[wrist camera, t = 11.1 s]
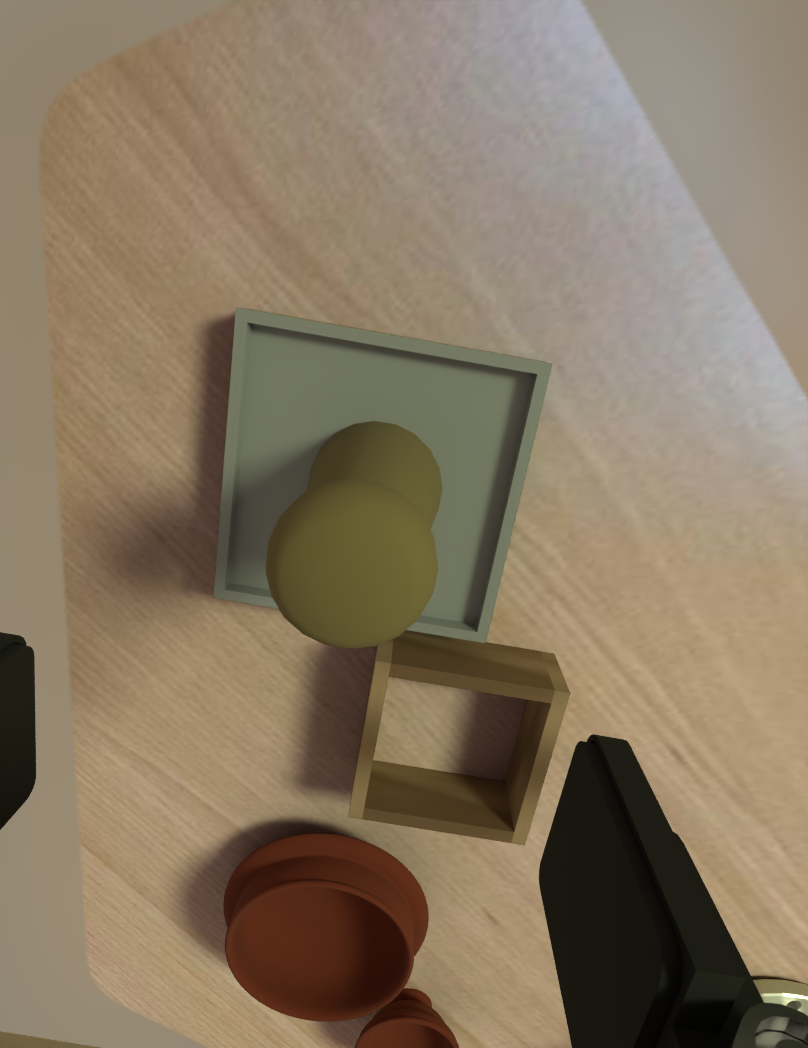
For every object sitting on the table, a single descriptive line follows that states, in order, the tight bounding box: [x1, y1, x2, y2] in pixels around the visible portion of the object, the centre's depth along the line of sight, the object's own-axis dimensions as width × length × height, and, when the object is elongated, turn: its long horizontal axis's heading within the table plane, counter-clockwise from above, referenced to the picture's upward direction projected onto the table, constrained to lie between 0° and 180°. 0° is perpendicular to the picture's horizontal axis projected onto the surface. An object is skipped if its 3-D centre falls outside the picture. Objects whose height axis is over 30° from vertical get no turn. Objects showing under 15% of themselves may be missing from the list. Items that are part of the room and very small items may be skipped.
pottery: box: [224, 833, 459, 1048], centre depth 35 cm, size 12×20×4 cm, turn 26°
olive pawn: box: [266, 421, 442, 649], centre depth 22 cm, size 6×6×11 cm
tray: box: [213, 307, 552, 643], centre depth 27 cm, size 13×13×2 cm
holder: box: [348, 630, 570, 845], centre depth 30 cm, size 9×9×4 cm
